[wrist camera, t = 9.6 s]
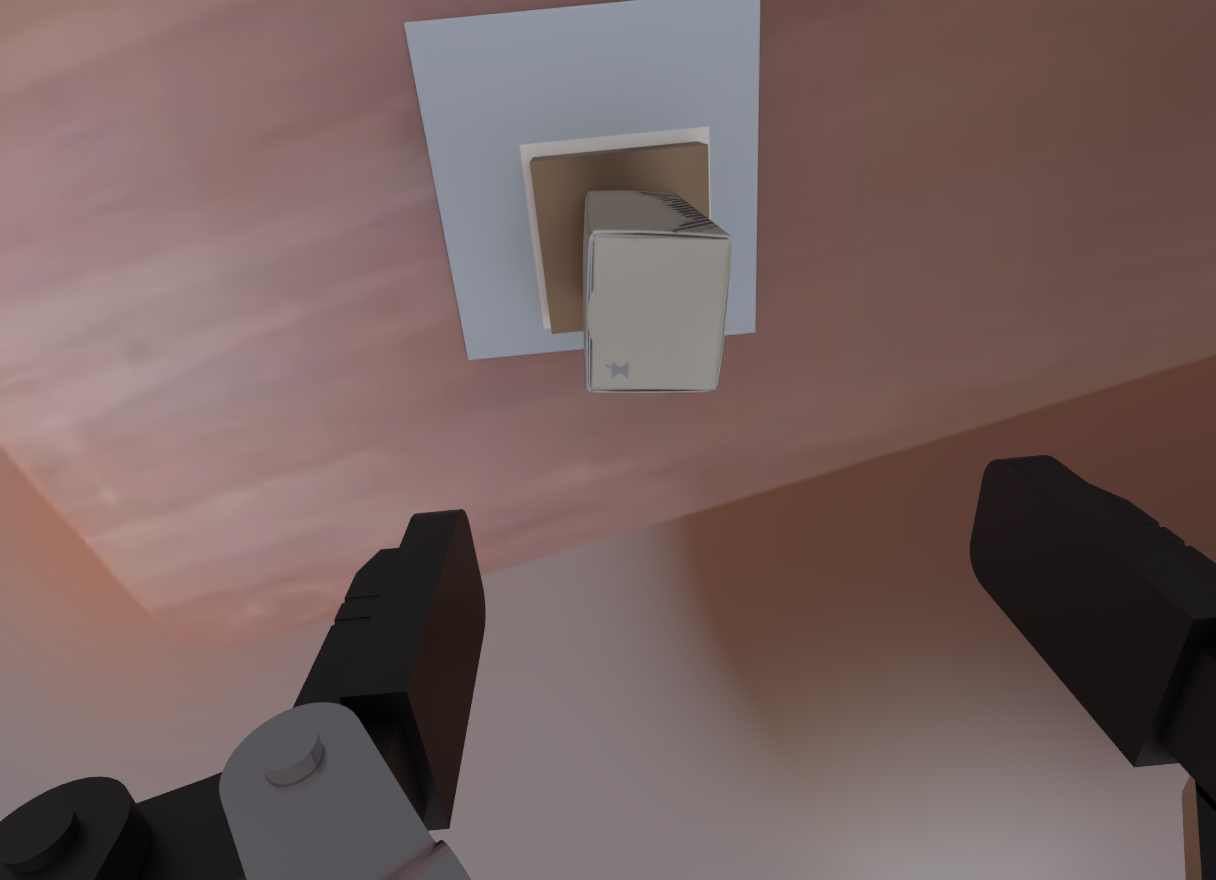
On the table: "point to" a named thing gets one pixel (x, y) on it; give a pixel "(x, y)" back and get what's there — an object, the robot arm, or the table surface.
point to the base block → (576, 174)
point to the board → (578, 136)
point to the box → (652, 293)
